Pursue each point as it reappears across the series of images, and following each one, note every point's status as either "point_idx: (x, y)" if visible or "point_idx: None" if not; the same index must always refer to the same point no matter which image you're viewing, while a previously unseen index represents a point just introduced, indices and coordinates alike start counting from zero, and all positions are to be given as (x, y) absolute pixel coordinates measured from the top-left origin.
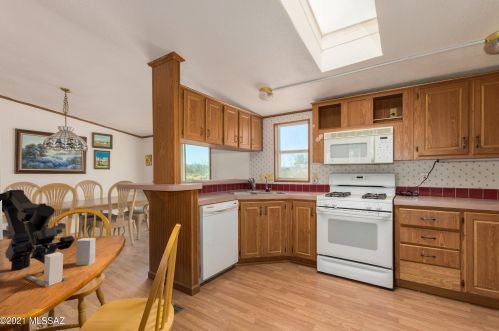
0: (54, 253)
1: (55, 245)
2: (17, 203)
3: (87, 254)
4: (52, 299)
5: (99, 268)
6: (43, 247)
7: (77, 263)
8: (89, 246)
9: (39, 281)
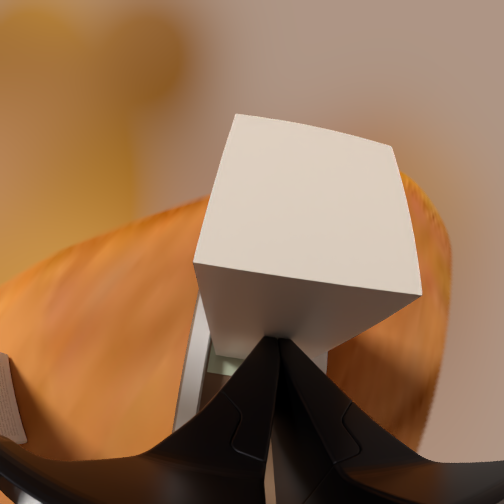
0: (284, 236)
1: (55, 477)
2: None
3: None
4: None
5: (9, 289)
6: (484, 497)
7: (6, 430)
8: None
9: (325, 371)
